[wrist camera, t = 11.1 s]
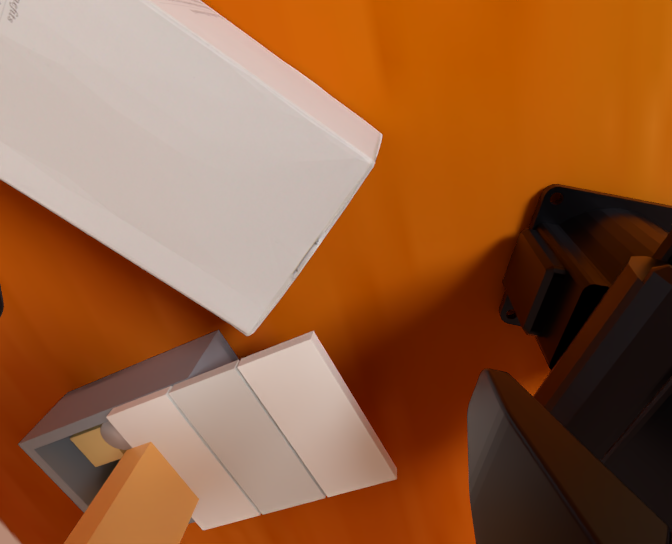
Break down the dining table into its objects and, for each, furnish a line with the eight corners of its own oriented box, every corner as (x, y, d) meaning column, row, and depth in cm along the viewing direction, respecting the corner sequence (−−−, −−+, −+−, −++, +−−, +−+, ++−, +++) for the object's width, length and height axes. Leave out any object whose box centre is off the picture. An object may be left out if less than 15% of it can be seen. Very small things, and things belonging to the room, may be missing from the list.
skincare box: (-4, 83, 20) (281, 277, 23) (-146, 100, 15) (248, 349, 18) (61, -120, 17) (389, 136, 20) (-92, -192, 12) (388, 173, 14)
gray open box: (218, 329, 25) (187, 378, 21) (294, 439, 27) (278, 499, 24) (67, 392, 28) (17, 444, 24) (147, 485, 30) (113, 543, 27)
